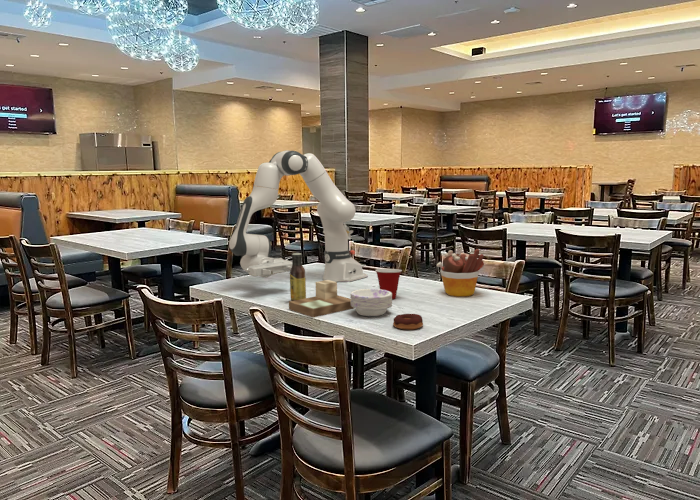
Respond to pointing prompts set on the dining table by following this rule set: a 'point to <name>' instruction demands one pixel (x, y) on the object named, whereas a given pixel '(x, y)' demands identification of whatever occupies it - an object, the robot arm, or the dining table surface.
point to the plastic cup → (389, 280)
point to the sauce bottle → (297, 278)
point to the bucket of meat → (460, 273)
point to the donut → (408, 321)
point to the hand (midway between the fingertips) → (281, 271)
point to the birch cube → (326, 289)
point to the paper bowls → (371, 301)
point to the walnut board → (320, 306)
